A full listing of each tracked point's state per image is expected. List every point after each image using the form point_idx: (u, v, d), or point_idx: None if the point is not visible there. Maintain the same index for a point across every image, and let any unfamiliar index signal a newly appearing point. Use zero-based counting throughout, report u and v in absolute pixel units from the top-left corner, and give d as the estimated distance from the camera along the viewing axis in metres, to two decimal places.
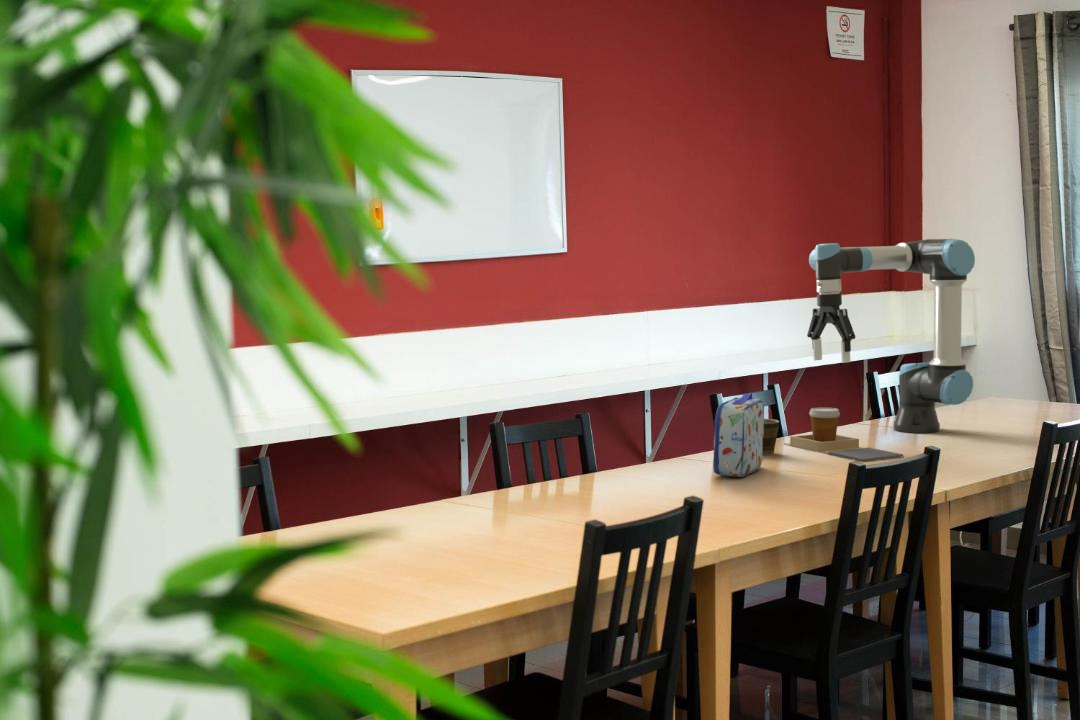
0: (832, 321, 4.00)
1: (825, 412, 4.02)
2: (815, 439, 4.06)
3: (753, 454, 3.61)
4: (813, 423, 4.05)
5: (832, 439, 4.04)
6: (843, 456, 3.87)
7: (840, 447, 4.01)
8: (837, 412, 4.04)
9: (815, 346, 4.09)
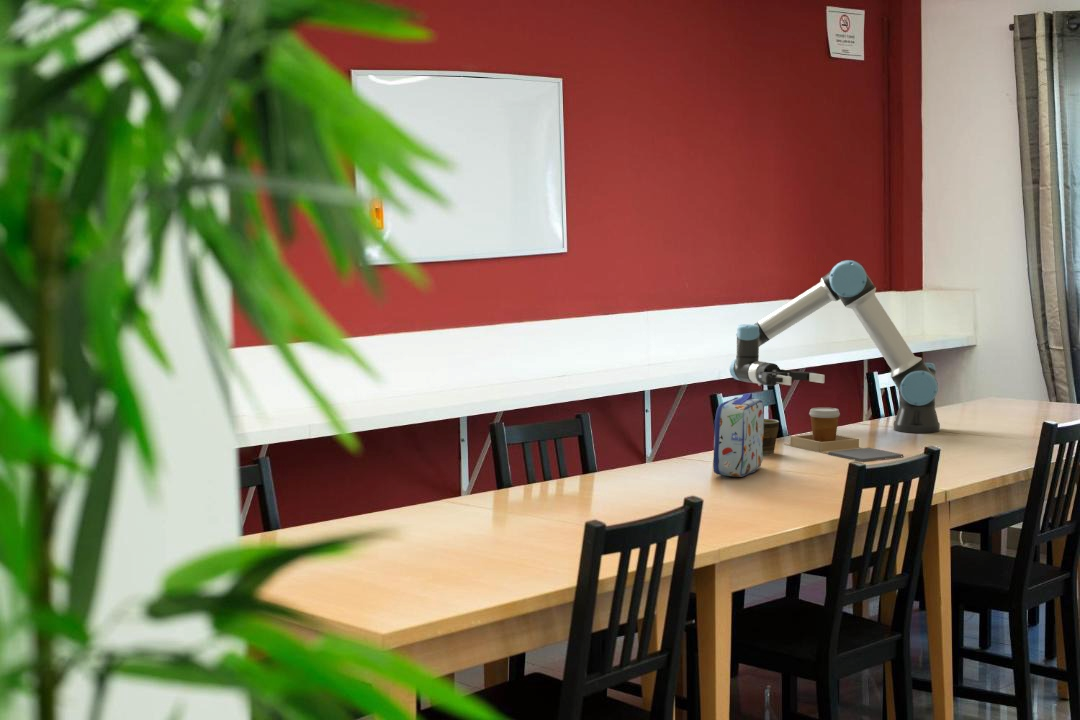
0: None
1: (825, 412, 4.02)
2: (815, 439, 4.06)
3: (753, 454, 3.61)
4: (813, 423, 4.05)
5: (832, 439, 4.04)
6: (843, 456, 3.87)
7: (840, 447, 4.01)
8: (837, 412, 4.04)
9: (813, 380, 4.20)
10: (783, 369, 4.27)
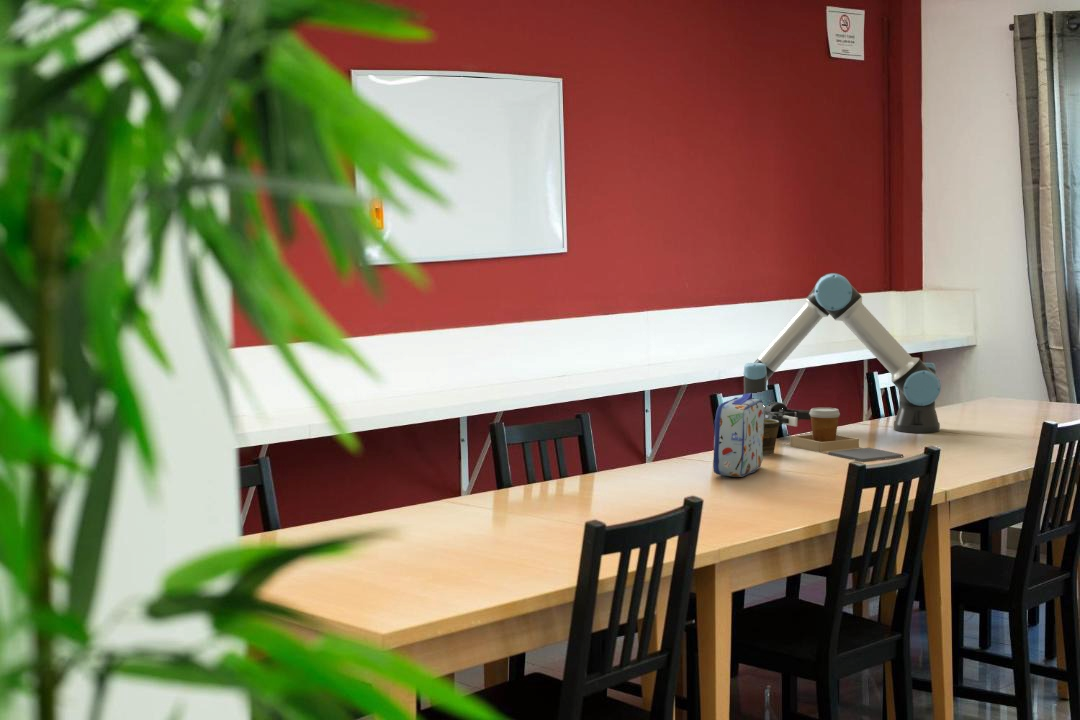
0: None
1: (825, 412, 4.02)
2: (815, 439, 4.06)
3: (753, 454, 3.61)
4: (813, 423, 4.05)
5: (832, 439, 4.04)
6: (843, 456, 3.87)
7: (840, 447, 4.01)
8: (837, 412, 4.04)
9: None
10: None
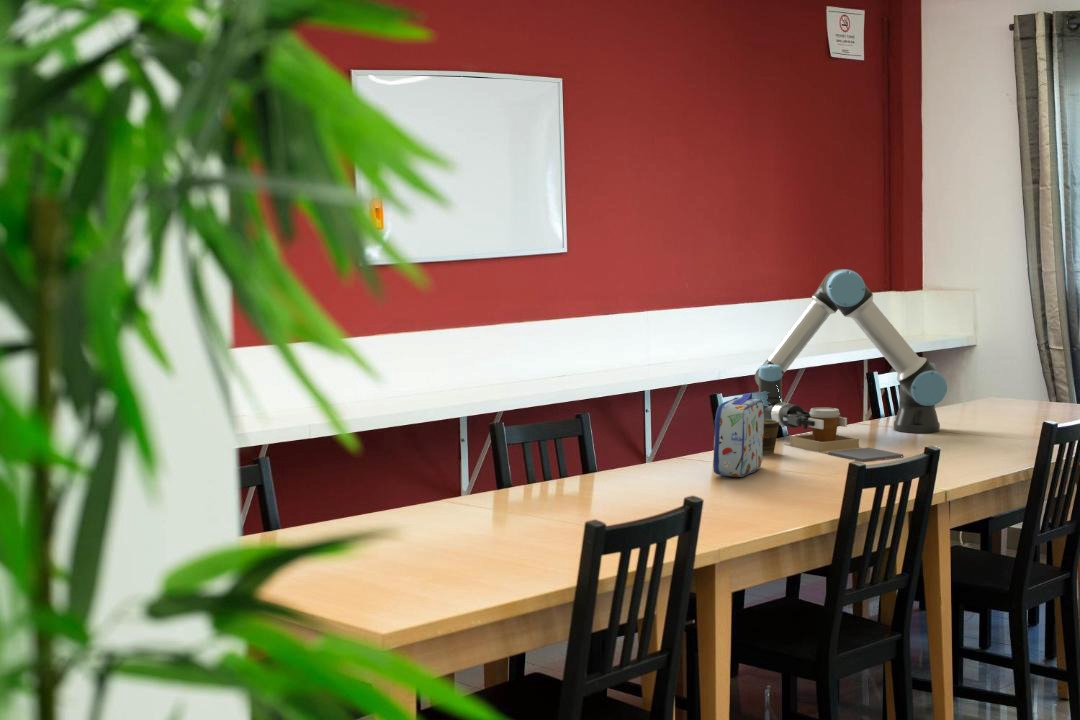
0: None
1: (825, 412, 4.02)
2: (815, 439, 4.06)
3: (753, 454, 3.61)
4: None
5: (832, 439, 4.04)
6: (843, 456, 3.87)
7: (840, 447, 4.01)
8: (837, 412, 4.04)
9: None
10: (807, 411, 4.17)
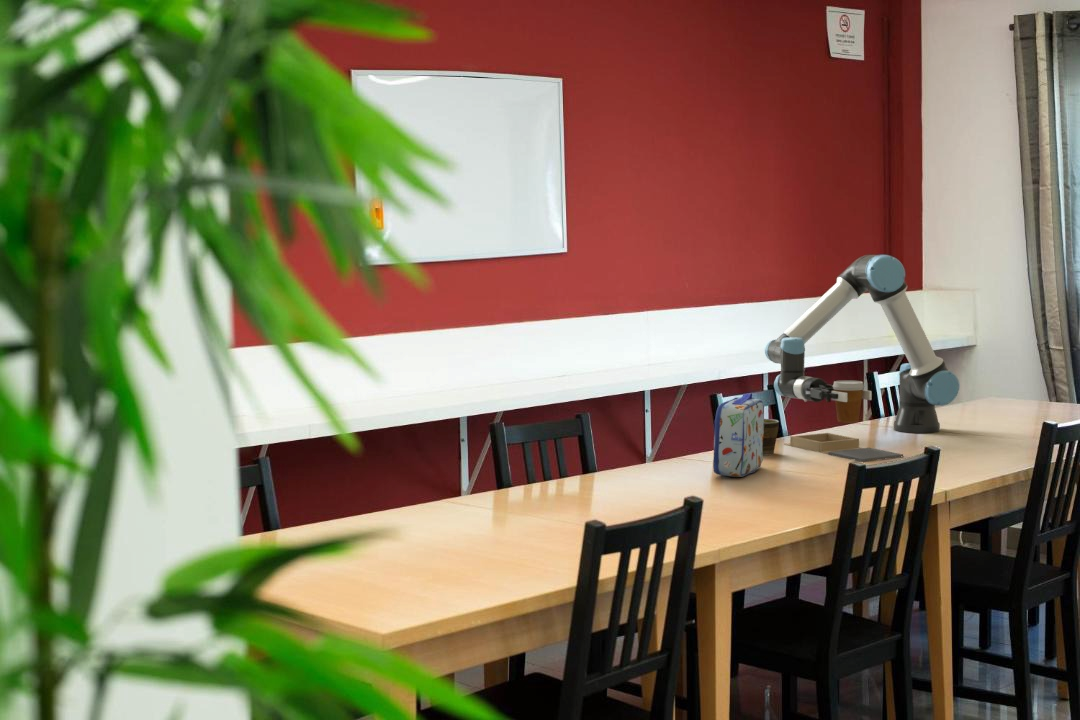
0: None
1: (849, 384, 3.89)
2: (838, 413, 3.93)
3: (753, 454, 3.61)
4: None
5: (856, 413, 3.92)
6: (843, 456, 3.87)
7: (840, 447, 4.01)
8: (861, 385, 3.91)
9: None
10: None
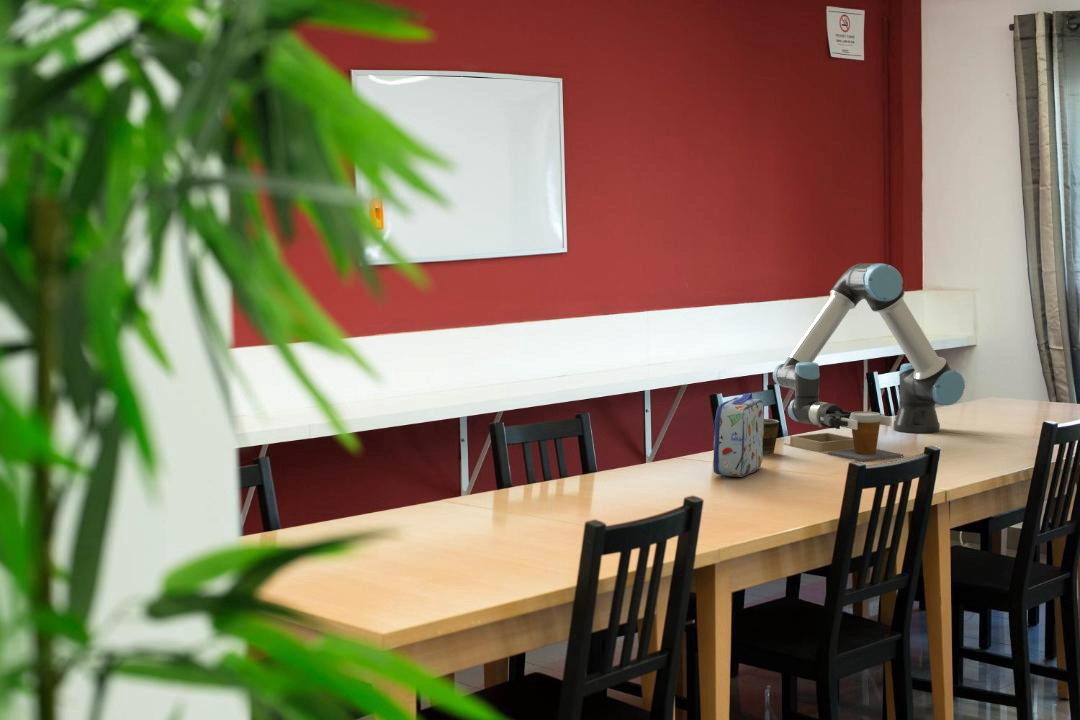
0: None
1: (866, 416, 3.85)
2: (856, 445, 3.89)
3: (753, 454, 3.61)
4: None
5: (874, 445, 3.88)
6: (843, 456, 3.87)
7: (840, 447, 4.01)
8: (879, 416, 3.87)
9: None
10: None
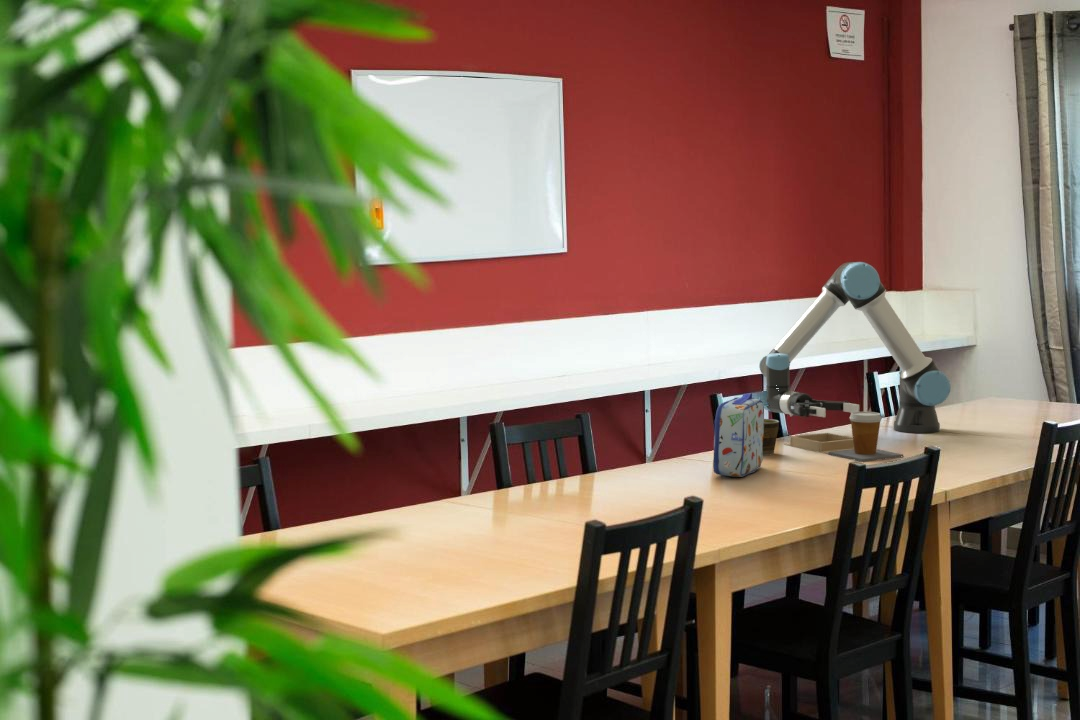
0: None
1: (866, 416, 3.85)
2: (856, 445, 3.89)
3: (753, 454, 3.61)
4: (854, 428, 3.89)
5: (874, 445, 3.88)
6: (843, 456, 3.87)
7: (840, 447, 4.01)
8: (879, 416, 3.87)
9: (847, 411, 4.07)
10: None
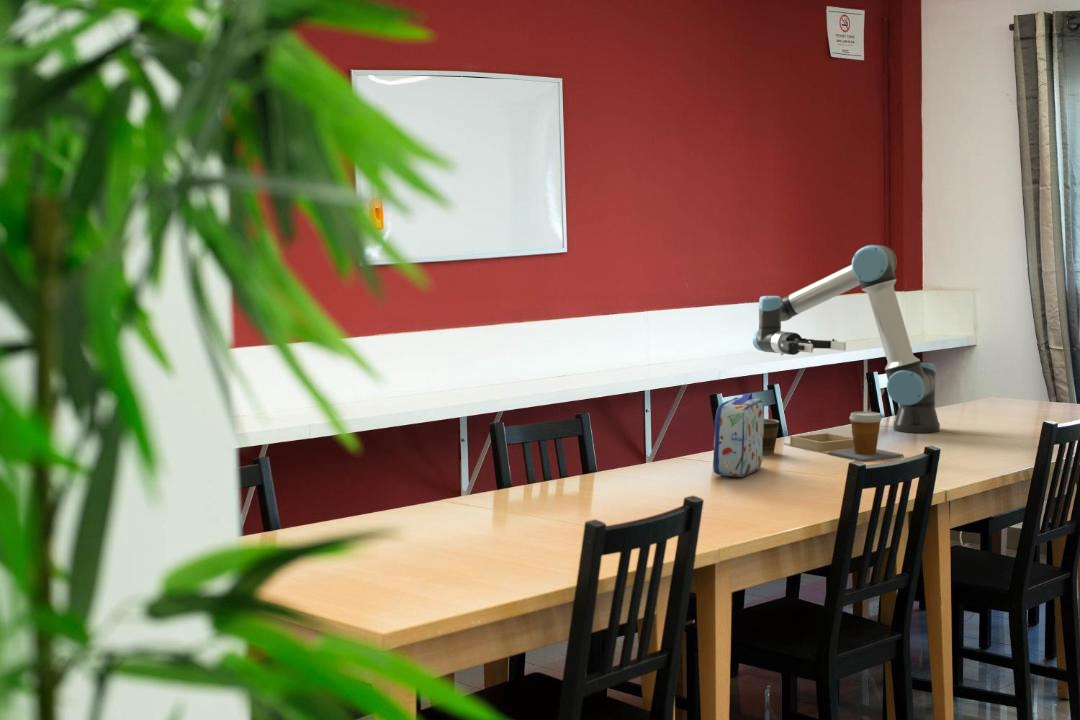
0: None
1: (866, 416, 3.85)
2: (856, 445, 3.89)
3: (753, 454, 3.61)
4: (854, 428, 3.89)
5: (874, 445, 3.88)
6: (843, 456, 3.87)
7: (840, 447, 4.01)
8: (879, 416, 3.87)
9: (835, 348, 4.28)
10: (805, 338, 4.35)
